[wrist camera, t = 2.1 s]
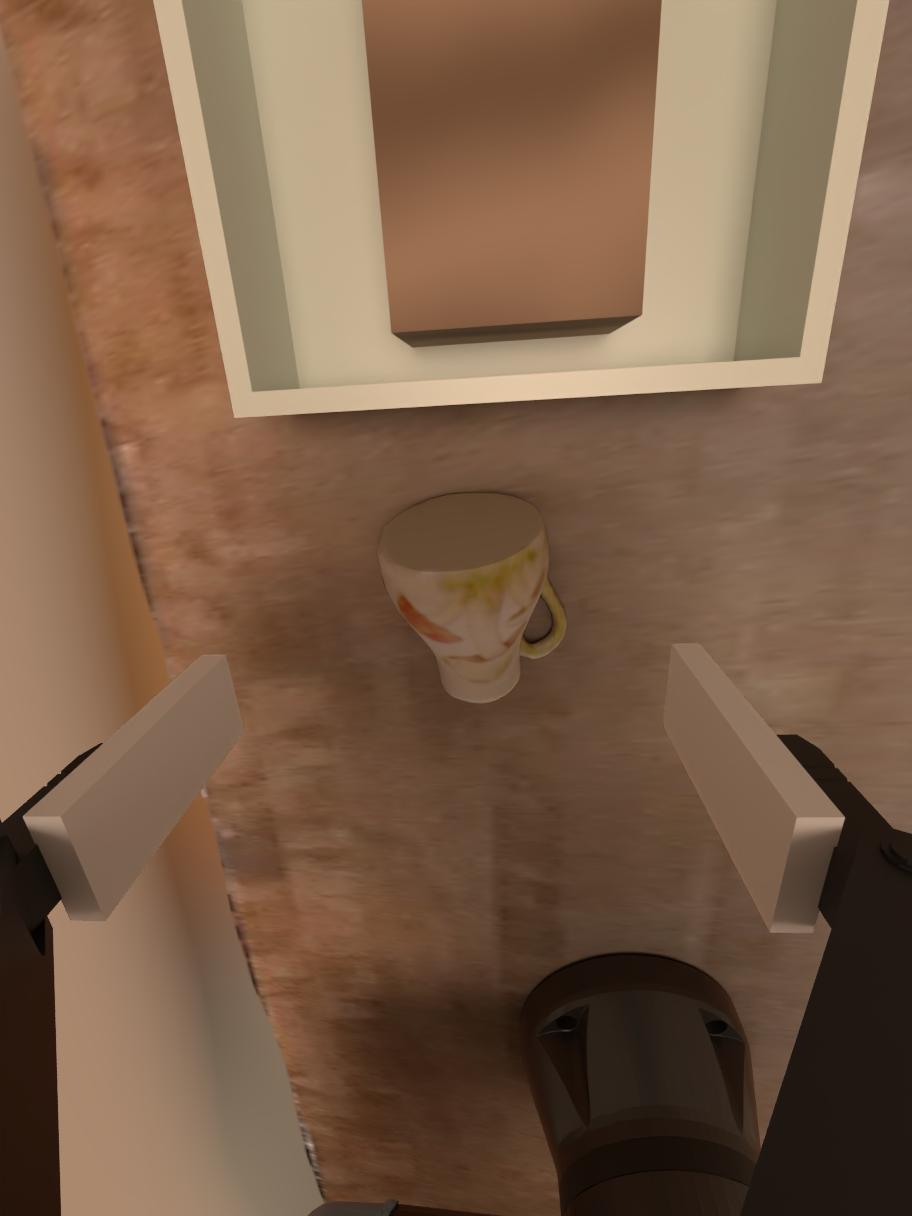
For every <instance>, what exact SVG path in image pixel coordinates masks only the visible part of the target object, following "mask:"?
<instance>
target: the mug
mask: <svg viewBox="0 0 912 1216" xmlns="http://www.w3.org/2000/svg"><path fill="white" fill-rule="evenodd" d="M377 554H378V560H379V565H380V570H381V575H382V580H383V583H384V586H385V589H386V591H387V593H388V595H389V597H390V599H391V600H392V602H393V603H394V605H395V606H396V608H397V609H398V611H399V612H400V613H401V615H402V616H403V617H404V618H405V620H406V621H407V622H408V623H409V624H410V626H411V627H412V628H413V629H414V630H415V631H416V632H417V634H418V635H419V636H420V637H421V638H422V639H423V640H424V641H425V643H426V644H427V645H428V646H429V647H430V649H431V650H432V651H433V653H434V654H435V657H436V661H437V663H438V667H439V673H440V678H441V682H442V685H443V686H444V688H445V690H446V691H447V692H448V693H449V694H450V695H451V696H453V697H454V698H457V699H460V700H463V701H467V702H471V703H489V702H492V701H495V700H498V699H499V698H501V697H503V696H505V695H506V694H507V693H509V692H510V691H511V690H512V689H513V688H514V686H515V685H516V684H517V682H518V681H519V677H520V655H521V656H525V657H528V658H530V659H536V658H540V657H544V656H545V655H547V654H548V653H550V652H551V651H552V650H553V649H555V648H556V647H557V646H558V645H559V643H560V642H561V640H562V639H563V637H564V635H565V631H566V628H567V619H566V614H565V610H564V606H563V604H562V603H561V601H560V599H559V597H558V596H557V594H556V593H555V591H554V589H553V587H552V585H551V583H550V581H549V579H548V577H547V572H548V566H549V545H548V539H547V533H546V528H545V525H544V522H543V519H542V517H541V515H540V513H539V511H538V510H537V509H536V508H535V507H534V506H533V505H532V504H531V503H528V502H526V501H523V500H521V499H518V498H516V497H514V496H510V495H504V494H498V493H458V494H449V495H445V496H441V497H437V498H433V499H430V500H427V501H424V502H422V503H419V504H417V505H415V506H413V507H411V508H409V509H407V510H405V511H404V512H403V513H401V514H400V515H398V516H397V517H395V518H394V519H392V520H391V521H390V522H389V523H388V524H387V525H386V526H385V527H384V528H383V530H382V533H381V536H380V539H379V544H378V549H377ZM540 595H541V596H542V598H543V599H544V601H545V602H546V604H547V605H548V607H549V609H550V611H551V614H552V619H553V627H552V630H551V632H550V633H549V634H548V636H547V637H545V638H543V639H542V640H540V641H538V642H536V643H533V644H529V643H527V642H526V641H525V639H524V637H523V632H524V630H525V628H526V626H527V624H528V622H529V619H530V617H531V615H532V612H533V610H534V608H535V606H536V604H537V602H538V600H539V597H540Z"/></svg>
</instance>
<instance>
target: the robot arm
mask: <svg viewBox="0 0 912 1216" xmlns="http://www.w3.org/2000/svg"><path fill="white" fill-rule="evenodd" d="M663 727H664V729H665V731H666V733H667V735H668V737H669V739H670V741H671V742H672V744H673V746H674V748H675V750H676V752H677V754H678V756H679V758H680V760H681V762H682V764H683V766H684V768H685V770H686V771H687V773H688V775H689V777H690V779H691V781H692V783H693V785H694V787H695V789H696V791H697V793H698V795H699V797H700V799H701V800H702V802H703V804H704V806H705V808H706V810H707V812H708V814H709V816H710V818H711V820H712V822H713V824H714V826H715V828H716V829H717V831H718V833H719V835H720V837H721V839H722V841H723V843H724V845H725V847H726V849H727V851H728V853H729V855H730V857H731V859H732V860H733V862H734V864H735V866H736V868H737V870H738V872H739V874H740V876H741V878H742V880H743V882H744V884H745V886H746V888H747V889H748V891H749V893H750V895H751V897H752V899H753V901H754V903H755V905H756V907H757V909H758V911H759V913H760V915H761V917H762V918H763V920H764V922H765V924H766V926H767V928H768V930H769V932H771V933H813V931H814V927H815V923H816V920H817V916H818V913H819V910H820V911H821V913H822V915H823V916H824V918H825V919H826V921H827V922H828V924H829V926H830V927H831V929H832V930H831V933H830V936H829V939H828V942H827V945H826V948H825V951H824V955H823V958H822V961H821V964H820V967H819V970H818V973H817V976H816V980H815V983H814V986H813V989H812V992H811V995H810V998H809V1001H808V1005H807V1008H806V1011H805V1014H804V1017H803V1020H802V1023H801V1026H800V1029H799V1033H798V1036H797V1039H796V1042H795V1045H794V1048H793V1051H792V1054H791V1058H790V1061H789V1064H788V1067H787V1070H786V1073H785V1076H784V1079H783V1083H782V1086H781V1089H780V1092H779V1095H778V1098H777V1101H776V1104H775V1108H774V1111H773V1114H772V1117H771V1120H770V1123H769V1126H768V1129H767V1133H766V1136H765V1139H764V1142H763V1145H762V1148H761V1147H760V1138H759V1129H758V1119H757V1110H756V1101H755V1092H754V1082H753V1073H752V1064H751V1054H750V1049H749V1045H748V1041H747V1038H746V1035H745V1032H744V1030H743V1027H742V1025H741V1022H740V1020H739V1017H738V1015H737V1012H736V1010H735V1007H734V1005H733V1003H732V1001H731V999H730V997H729V996H728V995H727V993H726V992H725V991H724V990H723V988H722V987H721V986H720V985H719V984H717V983H716V982H715V981H714V980H713V979H711V978H710V977H708V976H707V975H705V974H704V973H702V972H700V971H698V970H696V969H694V968H692V967H690V966H687V965H685V964H682V963H679V962H676V961H672V960H668V959H664V958H659V957H652V956H642V955H619V956H608V957H602V958H597V959H592V960H588V961H584V962H581V963H578V964H575V965H573V966H570V967H568V968H566V969H564V970H561V971H560V972H558V973H556V974H554V975H553V976H551V977H550V978H548V979H547V980H546V981H544V982H543V983H542V984H541V985H540V986H538V987H537V989H536V990H535V991H534V992H533V993H532V994H531V996H530V997H529V999H528V1000H527V1002H526V1004H525V1006H524V1008H523V1011H522V1015H521V1021H520V1029H521V1049H522V1061H523V1066H524V1071H525V1074H526V1077H527V1081H528V1084H529V1087H530V1090H531V1093H532V1096H533V1099H534V1102H535V1105H536V1108H537V1112H538V1115H539V1118H540V1121H541V1124H542V1127H543V1130H544V1133H545V1136H546V1140H547V1143H548V1146H549V1149H550V1152H551V1155H552V1158H553V1161H554V1164H555V1167H556V1171H557V1177H558V1186H559V1196H560V1207H561V1216H912V834H910V833H906V832H903V831H900V830H896V829H893V828H892V827H891V826H890V825H889V823H888V822H887V821H886V820H885V819H884V818H883V817H882V816H881V815H880V814H879V813H878V812H877V810H876V809H875V808H874V807H873V806H872V805H871V804H870V803H869V802H868V801H867V800H866V799H865V798H864V796H863V795H862V794H861V793H860V792H859V791H858V790H857V789H856V788H855V787H854V786H853V785H852V783H851V782H847V778H846V777H845V776H844V775H843V774H842V773H841V772H840V770H839V769H838V768H835V767H834V764H833V763H832V762H831V761H830V760H829V759H828V757H827V756H826V755H825V754H824V753H823V752H822V751H821V750H820V749H819V748H818V747H816V746H814V745H813V744H811V743H809V742H808V741H806V740H805V739H803V738H801V737H800V736H798V735H776V734H775V733H774V732H773V731H772V729H771V728H770V727H769V726H768V725H767V723H766V722H765V721H764V720H763V719H762V717H761V716H760V715H759V714H758V713H757V711H756V710H755V709H754V708H753V707H752V705H751V704H750V703H749V702H748V701H747V699H746V698H745V697H744V696H743V695H742V693H741V692H740V691H739V690H738V689H737V687H736V686H735V685H734V684H733V683H732V681H731V680H730V679H729V678H728V677H727V675H726V674H725V673H724V672H723V671H722V669H721V668H720V667H719V666H718V665H717V664H716V662H715V661H714V660H713V659H712V658H711V656H710V655H709V654H708V653H707V652H706V650H705V649H704V648H703V647H702V646H701V644H700V643H681V644H671V654H670V663H669V672H668V682H667V691H666V701H665V710H664V720H663ZM243 732H244V727H243V723H242V719H241V715H240V711H239V707H238V703H237V699H236V694H235V690H234V686H233V682H232V678H231V674H230V670H229V666H228V662H227V658H226V654H217V655H201V656H200V657H198V658H197V659H196V660H195V661H194V662H193V663H192V664H191V665H190V666H189V667H187V668H186V669H185V670H184V671H183V672H182V673H181V674H180V675H179V676H177V677H176V678H175V679H174V680H173V681H172V682H171V683H170V684H169V685H168V686H166V687H165V688H164V689H163V690H162V691H161V692H160V693H159V694H158V695H156V696H155V697H154V698H153V699H152V700H151V701H150V702H149V703H148V704H147V705H146V706H144V707H143V708H142V709H141V710H140V711H139V712H138V713H137V714H135V715H134V716H133V717H132V718H131V719H130V720H129V721H128V722H127V723H125V724H124V725H123V726H122V727H121V728H120V729H119V730H118V731H117V732H115V734H113V735H112V736H111V737H110V738H109V739H108V740H107V741H106V742H104V743H100V744H98V745H97V746H95V747H93V748H92V749H90V750H88V751H86V752H85V753H83V754H81V755H79V756H78V757H77V758H76V759H74V760H73V761H72V762H71V763H70V764H69V765H68V766H67V767H65V768H64V769H63V770H62V771H61V774H57V775H56V776H55V777H54V778H53V779H52V780H51V781H49V782H48V783H47V786H46V787H43V788H41V789H40V790H39V791H38V792H37V793H36V794H35V795H34V796H32V797H31V798H30V799H29V800H28V801H27V802H26V803H24V804H23V805H22V806H21V807H20V808H19V809H18V810H16V811H15V812H14V813H13V814H12V815H11V816H10V817H8V818H7V819H6V820H5V821H4V822H3V823H2V822H1V820H0V1216H61V1198H60V1167H59V1166H60V1163H59V1129H58V1095H57V1062H56V1061H57V1059H56V1027H55V991H54V957H53V956H54V955H53V928H52V926H51V923H50V921H49V919H48V917H47V915H48V914H49V913H50V912H51V910H52V909H53V908H54V907H55V906H56V905H57V903H58V902H59V901H60V900H62V903H63V905H64V907H65V909H66V911H67V914H68V916H69V918H70V920H83V921H85V920H86V921H106V919H107V918H108V917H109V915H110V914H111V913H112V911H113V910H114V909H115V907H116V906H117V904H118V903H119V902H120V900H121V899H122V897H123V896H124V895H125V893H126V892H127V891H128V889H129V888H130V887H131V885H132V884H133V883H134V881H135V880H136V878H137V877H138V876H139V874H140V873H141V871H142V870H143V869H144V867H145V866H146V865H147V863H148V862H149V861H150V859H151V858H152V857H153V855H154V854H155V852H156V851H157V850H158V848H159V847H160V846H161V844H162V842H163V841H164V840H165V839H166V837H167V836H168V835H169V833H170V832H171V831H172V829H173V828H174V826H175V825H176V824H177V822H178V821H179V819H180V818H181V817H182V815H183V814H184V813H185V811H186V810H187V809H188V807H189V806H190V804H191V803H192V802H193V800H194V799H195V798H196V796H197V795H198V794H199V792H200V791H201V789H202V788H203V787H204V785H205V784H206V783H207V781H208V780H209V779H210V777H211V776H212V774H213V773H214V772H215V770H216V769H217V768H218V766H219V765H220V763H221V762H222V761H223V759H224V758H225V757H226V755H227V754H228V753H229V751H230V750H231V748H232V747H233V746H234V744H235V743H236V742H237V740H238V739H239V737H240V736H241V735H242V733H243ZM308 1216H500V1215H492V1214H483V1213H474V1212H465V1211H456V1210H448V1209H439V1208H430V1207H421V1206H412V1205H403V1204H399V1201H397V1200H393V1199H388V1200H387V1201H386V1202H385V1203H361V1202H329V1203H325V1204H323V1205H321V1206H319V1207H318V1208H316V1209H315V1210H314V1211H312V1212H311V1213H310V1214H309V1215H308Z"/></svg>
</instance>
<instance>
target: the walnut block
mask: <svg viewBox="0 0 912 1216" xmlns="http://www.w3.org/2000/svg"><path fill="white" fill-rule="evenodd" d="M661 5H662V0H362V10H363V21H364V32H365V43H366V54H367V66H368V77H369V88H370V99H371V111H372V122H373V133H374V144H375V155H376V167H377V178H378V189H379V200H380V211H381V223H382V234H383V245H384V256H385V268H386V279H387V290H388V301H389V312H390V324H391V333H392V334H394V335H395V336H396V337H398V338H399V339H401V340H402V341H404V342H405V343H406V344H408V345H409V346H411V347H412V348H414V347H428V346H443V345H458V344H472V343H487V342H501V341H516V340H530V339H545V338H560V337H574V336H589V335H603V334H610V333H612V332H614V331H615V330H617V329H619V328H621V327H622V326H624V325H626V324H628V323H629V322H631V321H633V320H634V319H636V318H638V317H640V316H641V315H642V310H643V294H644V278H645V262H646V246H647V230H648V214H649V198H650V182H651V165H652V149H653V133H654V117H655V101H656V85H657V69H658V53H659V37H660V21H661Z"/></svg>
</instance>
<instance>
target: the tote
mask: <svg viewBox="0 0 912 1216" xmlns="http://www.w3.org/2000/svg"><path fill="white" fill-rule="evenodd" d="M153 1H154V6H155V12H156V17H157V22H158V27H159V32H160V37H161V42H162V48H163V53H164V58H165V63H166V68H167V73H168V78H169V84H170V89H171V94H172V99H173V104H174V109H175V114H176V120H177V125H178V130H179V135H180V140H181V145H182V150H183V156H184V161H185V166H186V171H187V176H188V181H189V186H190V192H191V197H192V202H193V207H194V212H195V217H196V222H197V228H198V233H199V238H200V243H201V248H202V253H203V258H204V264H205V269H206V274H207V279H208V284H209V289H210V294H211V300H212V305H213V310H214V315H215V320H216V325H217V331H218V336H219V341H220V346H221V351H222V356H223V361H224V367H225V372H226V377H227V382H228V387H229V392H230V397H231V403H232V408H233V413H234V418H241V417H258V416H274V415H291V414H308V413H324V412H341V411H358V410H375V409H391V408H408V407H425V406H441V405H458V404H475V403H491V402H508V401H525V400H542V399H558V398H575V397H592V396H608V395H625V394H642V393H658V392H675V391H692V390H709V389H725V388H742V387H759V386H775V385H792V384H809V383H822V377H823V371H824V366H825V360H826V354H827V349H828V343H829V337H830V332H831V326H832V321H833V315H834V309H835V304H836V298H837V292H838V287H839V281H840V275H841V270H842V264H843V258H844V253H845V247H846V242H847V236H848V230H849V225H850V219H851V213H852V208H853V202H854V196H855V191H856V185H857V179H858V174H859V168H860V163H861V157H862V151H863V146H864V140H865V134H866V129H867V123H868V117H869V112H870V106H871V100H872V95H873V89H874V84H875V78H876V72H877V67H878V61H879V55H880V50H881V44H882V38H883V33H884V27H885V21H886V16H887V10H888V5H889V0H662V5H661V21H660V37H659V53H658V69H657V85H656V101H655V117H654V133H653V149H652V165H651V182H650V198H649V214H648V230H647V246H646V262H645V278H644V294H643V310H642V315H641V316H640V317H638V318H636V319H634V320H633V321H631V322H629V323H628V324H626V325H624V326H622V327H621V328H619V329H617V330H615V331H614V332H612V333H610V334H603V335H589V336H574V337H560V338H545V339H530V340H516V341H501V342H487V343H472V344H458V345H443V346H428V347H414V348H412V347H411V346H409V345H408V344H406V343H405V342H404V341H402V340H401V339H399V338H398V337H396V336H395V335H394V334H392V333H391V324H390V312H389V301H388V290H387V279H386V268H385V256H384V245H383V234H382V223H381V211H380V200H379V189H378V178H377V167H376V155H375V144H374V133H373V122H372V111H371V99H370V88H369V77H368V66H367V54H366V43H365V32H364V21H363V10H362V0H153Z"/></svg>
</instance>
